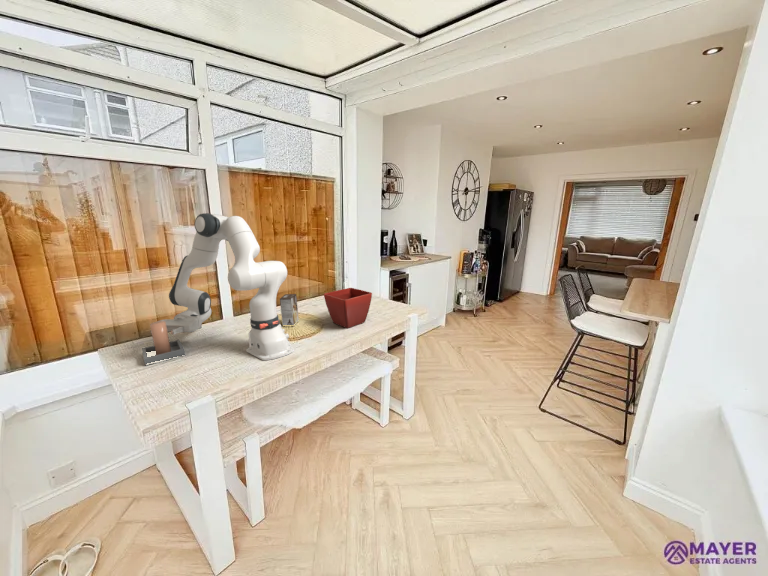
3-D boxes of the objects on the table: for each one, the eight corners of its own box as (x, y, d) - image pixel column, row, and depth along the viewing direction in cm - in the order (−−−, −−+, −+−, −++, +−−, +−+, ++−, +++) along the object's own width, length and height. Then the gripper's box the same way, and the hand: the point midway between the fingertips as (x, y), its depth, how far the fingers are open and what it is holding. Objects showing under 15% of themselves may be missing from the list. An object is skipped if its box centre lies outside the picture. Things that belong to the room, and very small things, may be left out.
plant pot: (352, 314, 187) (350, 287, 183) (373, 322, 174) (372, 292, 170) (324, 323, 174) (322, 293, 170) (346, 332, 161) (344, 300, 157)
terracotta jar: (172, 353, 139) (166, 323, 136) (156, 357, 136) (150, 326, 133) (170, 349, 143) (164, 320, 140) (155, 353, 140) (149, 323, 137)
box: (185, 355, 139) (184, 349, 138) (145, 366, 130) (143, 359, 129) (180, 345, 150) (179, 339, 149) (143, 354, 141) (141, 348, 140)
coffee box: (287, 321, 178) (285, 293, 174) (299, 321, 178) (296, 293, 174) (282, 327, 169) (279, 298, 166) (294, 327, 169) (291, 298, 165)
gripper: (163, 315, 152) (138, 325, 139) (203, 315, 150) (182, 326, 137) (165, 327, 154) (141, 338, 141) (205, 327, 152) (185, 339, 139)
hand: (162, 332), depth 139 cm, fingers open, 8 cm apart
